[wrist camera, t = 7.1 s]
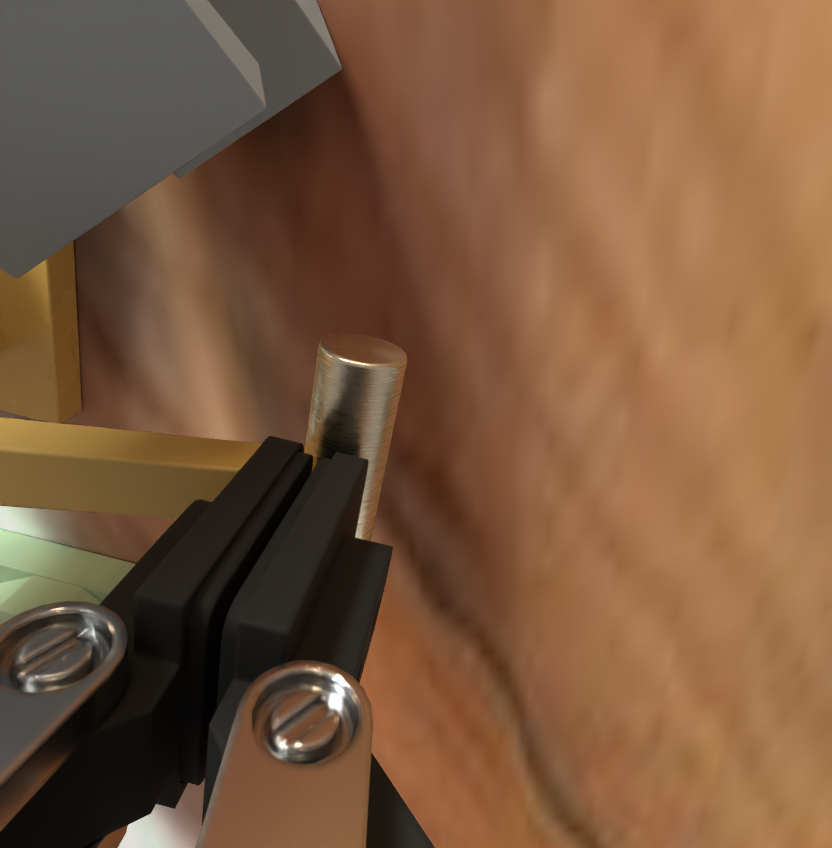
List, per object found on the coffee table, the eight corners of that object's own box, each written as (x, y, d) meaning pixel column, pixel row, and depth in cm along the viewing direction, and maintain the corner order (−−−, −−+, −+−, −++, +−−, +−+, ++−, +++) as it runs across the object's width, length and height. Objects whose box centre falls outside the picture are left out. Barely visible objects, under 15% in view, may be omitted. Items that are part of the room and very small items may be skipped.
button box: (215, 583, 22) (167, 653, 19) (207, 709, 25) (164, 787, 22) (-34, 519, 23) (-120, 577, 20) (-13, 650, 26) (-85, 719, 23)
